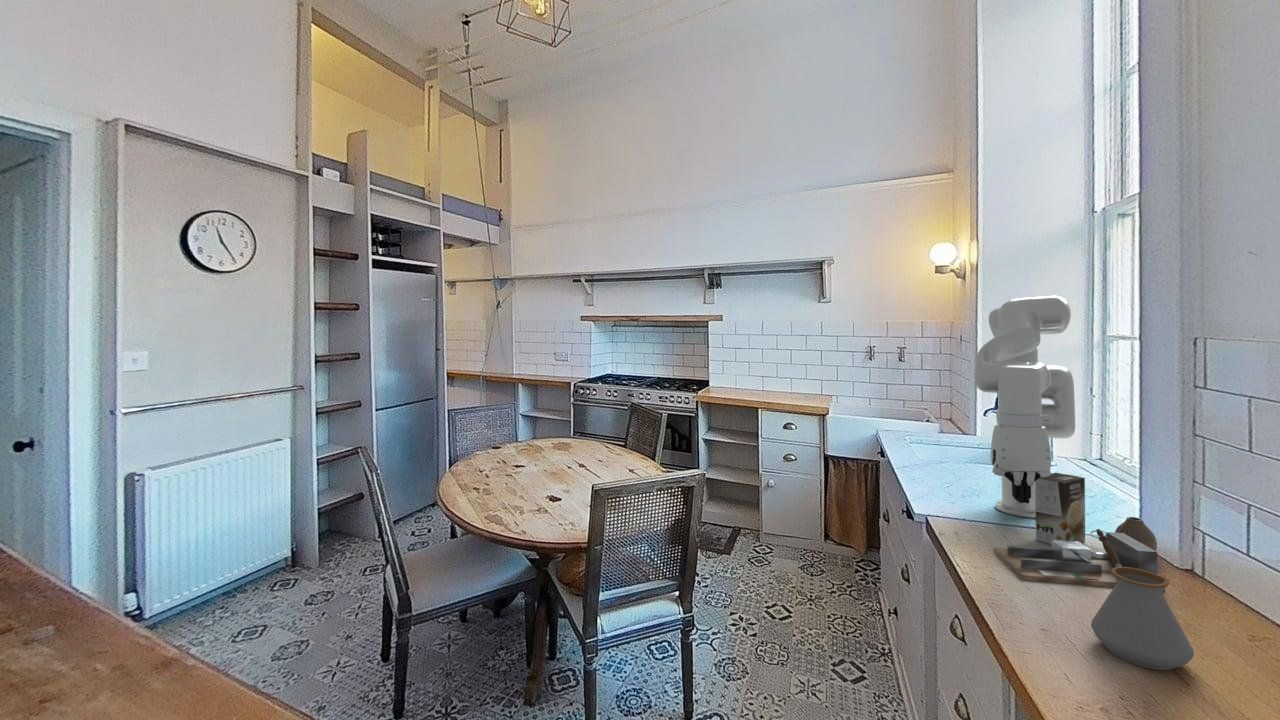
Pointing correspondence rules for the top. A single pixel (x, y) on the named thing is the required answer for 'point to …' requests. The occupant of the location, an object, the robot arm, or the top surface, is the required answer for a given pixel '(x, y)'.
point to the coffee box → (1060, 508)
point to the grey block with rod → (1075, 552)
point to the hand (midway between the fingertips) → (1021, 501)
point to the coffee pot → (1140, 619)
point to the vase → (1138, 532)
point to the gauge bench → (1078, 563)
